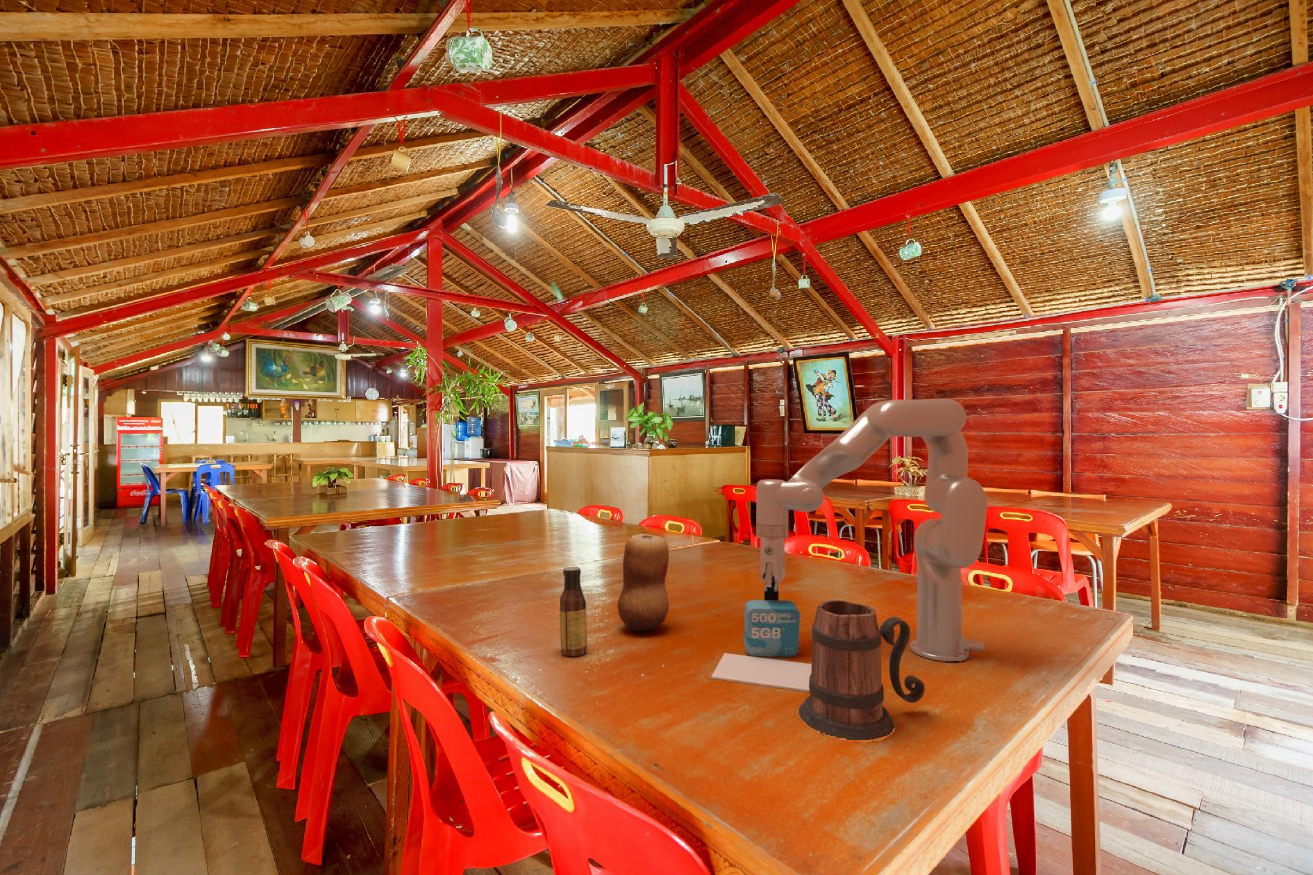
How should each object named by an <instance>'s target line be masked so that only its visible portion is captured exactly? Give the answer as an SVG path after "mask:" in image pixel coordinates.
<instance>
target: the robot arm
mask: <svg viewBox="0 0 1313 875" xmlns="http://www.w3.org/2000/svg"><path fill="white" fill-rule="evenodd" d="M966 421H967V412H966V409H965V408H964V406H963V405H962V404H961V403H959V402H958V401H957V400H954V399H950V398H930V399H929V398H928V399H927V398H925V399H922V398H921V399H889V400H884V401H879V402H875V403H873V404H871V405H870V406H869V407H868V408H867V409H866V410H865V411H864V412H862V413H861V414H860V415H859V416H858V417H857V418H856V419H855V420H854V421H853V422H852V423H851V424H850V425H849V426H848V427H847V428H846V429H845V430H843V431H842V433H841V434H840V435H838V436H837V437H836V438H835V439H834V440H833V441H832V442H831V443H830V444H828V445H827V446H826V447H824V448H823V449H822V450H821V451H819V453H817V454H816V455H815V456H813V457H812V458H811V459H809V460H808V461H807V462H806V463H805V464H804V465H803V466H802V467H801V468H800V469H799V470H798V471H797V472H796V473H794V475H793V476H792V477H791V478H790V479H788V481H785V480H783V479H772V478H771V479H768V478H767V479H760V480H759V481H758V482H757V484H756V499H755V500H756V504H755V505H756V508H755V509H756V513H755V514H756V516H755V518H756V520H755V521H756V523H755V524H756V525H755V526H756V529H755V532H756V533H755V537H756V538H758V539H760V548H759V550H760V551H759V552H760V553H759V554H760V557H759V560H760V561H759V566H760V567H759V569H760V576H759V577H760V579H761V580H762V581H764V592H763V594H764V596H763V598H764V599H763V600H779V598H780V596H779V595H780V594H779V593H780V592H779V583H780V582H782V581H783V580H784V577H785V575H786V550H785V548H786V547H785V540H786V539H788V538H789V510H792V511H797V512H805V513H809V512H814V511H816V510H818V509H819V508H820V507H821V506H822V505H823V503H824V501H825V500H824V499H825V494H824V491H823V488H825V487H827V485H828V484H830V483H831V482H833V480H835V479H836V478H837V479H838V477H840V476H843V475H845V474H847V473H849V472H852V471H854V470H856V469H858V468H860V467H861V466H862V465H863V464H864V463H865V462H866V461H867V460H868V459H869V458H871V456H872V455H874V453H875V452H877V451H878V450H879V449H880V448H881V447H882V446H883V445H884V444H885V443H886V442H887V441H888V440H889V439H890V438H891V437H892V438H895V437H898V438H899V437H901V438H903V437H905V438H911V437H912V438H922V440H923V442H924V443H925V445H926V448H927V453H928V454H927V455H928V457H927V462H928V463H927V470H926V477H925V478H926V479H925V487H924V494H923V495H924V501H925V502H924V503H925V504H926V506H927V507H928V508H929V509H930V510H932V511H933V512H935V513H938V514H940V515H941V516H940V518H931V519H926V520H925V521H923V522H921V523H920V524H919V525H918V527H917V529H916V530H915V533H914V536H913V546H914V553H915V558H916V571H917V576H916V579H917V583H916V584H917V587H916V588H917V594H916V595H917V598H916V599H917V601H916V604H917V605H916V608H917V609H916V610H917V611H916V612H917V613H916V620H917V622H916V626H917V627H916V639H914V640H912V641H910V644H909V649H910V650H911V652H913V654H916V655H918V656H921V657H922V658H926V659H929V660H934V661H939V662H946V661H949V663H951V662H950V661H959V662H963V660H964V661H966V660H968V659H969V658H970V652H969V651H970V650H973V651H974V650H975V651H979V652H985V650H986V645H985V642H981V641H977V639H973V638H965V637H964V635H963V633H962V629H963V628H962V627H963V626H962V624H963V623H962V618H963V617H962V615H963V613H962V612H963V610H962V605H963V604H962V602H963V600H962V598H963V595H962V594H963V592H962V590H963V580H962V571H961V570H962V569H964V568H968V567H970V566H971V565H974V564H975V563H976V562H977V560H978V559H979V557H980V556H981V552H982V549H983V545H984V538H985V528H986V520H987V511H988V500H987V495H986V492H985V490H984V488H983V486H982V485H981V484H980V483H979V482H978V481H977V480H976V479H975V480H974V479H972V478H970V477H968V468H969V465H968V464H969V448H968V444H967V441H966V439H965V437H964V435H963V433H962V432H961V430H962V429H963V427H965V424H966ZM967 658H968V659H967Z"/></svg>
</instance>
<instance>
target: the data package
mask: <svg viewBox="0 0 1313 875" xmlns="http://www.w3.org/2000/svg"><path fill="white" fill-rule="evenodd" d="M800 617H801V613H800V611H799V609H798V607H797V605H796V603H795V602H794V601H792V600H764V599H761V600H759V599H757V600H749V601H747V602H746V603H745V606H744V623H743V625H744V626H743V628H744V630H743V644H744V647H745V651H746V653H747V656H751V657H759V658H775V657H777V658H778V657H779V658H792V657H795V656H796V655H798V652H799V640H800V619H801V618H800Z"/></svg>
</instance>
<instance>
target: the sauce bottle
mask: <svg viewBox="0 0 1313 875" xmlns="http://www.w3.org/2000/svg"><path fill="white" fill-rule="evenodd" d="M581 569H582V568H580V567H579V566H567V567H564V568H563V570H562V571H563V572H562V573H563V574H562V575H563V576H564V577H563V578H564V579H563V580H564V585H563V586H564V588H563V590H562V593H561V595H560V598H559V628H560V629H559V632H560V633H559V637H560V638H559V639H560V648H561V650H560V651H561V654H562V655H565V656H567V657H580V656H583V655H584V654H586V653H587V648H588V647H587V646H588V622H587V621H588V618H587V617H588V616H587V615H588V614H587V602H586V599H585V595H584V593H583V589H582V586H581V573H582V572H581Z"/></svg>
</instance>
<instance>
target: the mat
mask: <svg viewBox="0 0 1313 875" xmlns="http://www.w3.org/2000/svg"><path fill="white" fill-rule="evenodd" d="M811 668H812V663H805V662H797V661H790V660H789V661H788V660H783V659H782V660H781V659H775V658H768V657H752V656H750V655H741V654H734V653H727V652H724V654H723V655H722V657H721V659H720V661H719V662H718V664H717V666H716V668H715V670H714V671H713V673H712V675H711V679H713V680H720V681H727V682H732V683H733V682H734V683H735V682H736V683H741V684H748V685H749V684H750V685H756V686H763V687H768V686H769V687H770V688H775V689H776V688H777V689H782V688H783V689H784V690H791V691H797V692H798V691H799V692H803V693H805V692H806V693H810V690H809V678H810V675H811Z"/></svg>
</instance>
